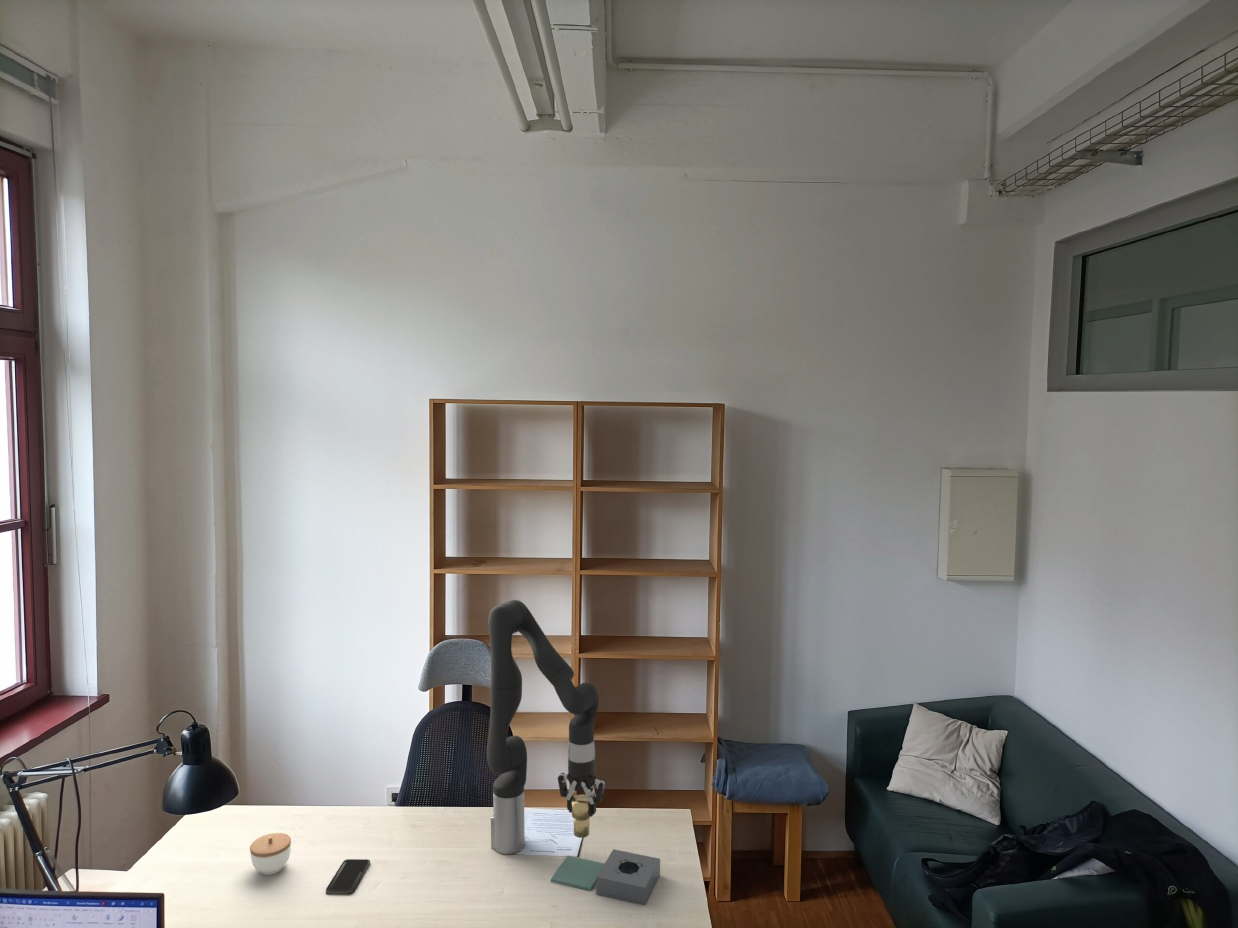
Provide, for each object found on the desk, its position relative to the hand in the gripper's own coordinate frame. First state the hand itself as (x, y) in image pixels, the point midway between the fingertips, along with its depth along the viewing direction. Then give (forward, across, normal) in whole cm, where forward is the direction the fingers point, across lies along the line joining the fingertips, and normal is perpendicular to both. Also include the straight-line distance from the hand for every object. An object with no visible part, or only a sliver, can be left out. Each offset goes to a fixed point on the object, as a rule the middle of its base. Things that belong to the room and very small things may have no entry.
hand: (581, 812), depth 224 cm
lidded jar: (+18, -85, -27) cm, 91 cm away
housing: (+18, +14, 0) cm, 23 cm away
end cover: (+6, 0, 0) cm, 6 cm away
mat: (+18, -1, 0) cm, 18 cm away
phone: (+19, -61, -23) cm, 68 cm away
